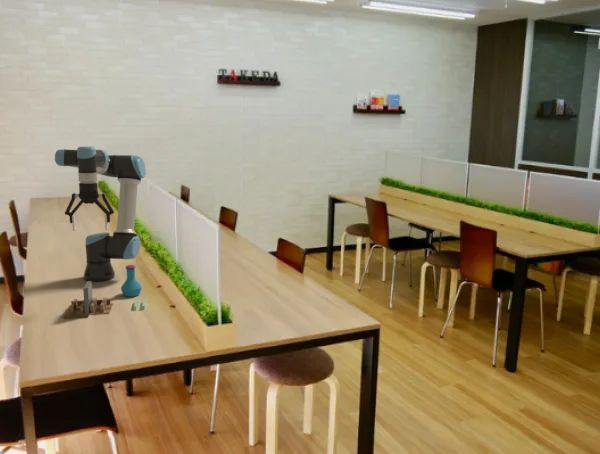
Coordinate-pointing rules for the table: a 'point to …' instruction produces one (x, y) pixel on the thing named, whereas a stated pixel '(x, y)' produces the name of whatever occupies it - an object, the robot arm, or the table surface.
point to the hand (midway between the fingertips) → (90, 230)
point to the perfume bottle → (131, 283)
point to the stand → (140, 305)
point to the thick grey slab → (87, 296)
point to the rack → (95, 308)
